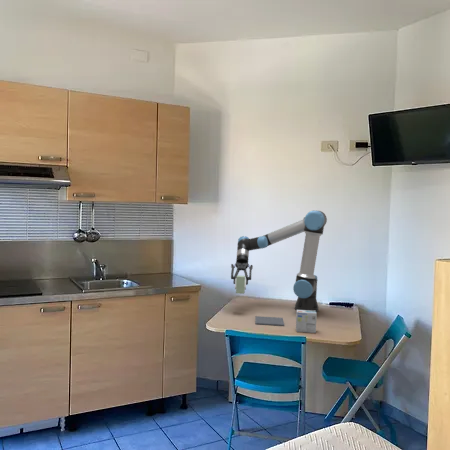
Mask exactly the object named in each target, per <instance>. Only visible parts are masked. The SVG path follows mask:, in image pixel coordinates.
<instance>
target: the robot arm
mask: <svg viewBox="0 0 450 450" xmlns="http://www.w3.org/2000/svg"><path fill="white" fill-rule="evenodd" d="M327 221H328V219H327V216H326V214H325V213H324V212H323V211H321V210H311V211H309V212H307V214H306V215H305V216H304V217H303V218H302V219H300V220H298V221H296V222H293V223H292V224H289V225H286V226H283V227H282V228H279V229H276V230H274V231H271V232H269V233H267V234H264V235H261V236H257V237H252V238H249V237H248V236H244V235H243V236H240V237H239V238H238V240H237V250H236V251H237V252H236V259H235V260H236V261H235V263H231V264H230V265H231V266H230V268H231V271H230V279H231V280H233V285H234V290H236V280H237V276H239V272H240V271H243V273H244V276H245V287H244V290H245V291H246V290H247V286H248V285H249V281H251V280H252V271H253V267H254V266H253V264H249V258H250V257H249V256H250V255H249V254H250V251H255V250H261V249H265V248H268V246H269V247H270V246H271V245H273V244H276V243H279V242H281V241H284V240H287V239H290V238H292V237H294V236H297V235H299V234H301V233H304V234H305V236H304V244H303V248H302V249H303V251H302V256H301V262H300V267H299V272H298V273H296V276H295V277H296V278H295V281H294V284H293V288H292V289H293V293H294V294H295V296H296V297H297V300H295V301H296V302H295V304H294V309H295V310H296V311H297V310H311V311H316V313H317V312H319V304H318V299H317V290H318V288H317V287H318V276H317V275H315V267H316V262H317V255H318V251H319V250H318V249H319V243H320V237H321V236H322V235H324V229H325V226H326V224H327V223H328V222H327ZM235 268H236V271H235ZM247 269H248V270H249V273H248V270H247ZM234 271H235V273H234Z"/></svg>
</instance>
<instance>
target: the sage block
mask: <svg viewBox="0 0 450 450" xmlns="http://www.w3.org/2000/svg"><path fill="white" fill-rule="evenodd" d="M245 278H246V277H245V275H237V280H236V289H235V293H236V294H238V295H239V294H240V295H241V294H243V295H245V292H246V290H244V287H245Z"/></svg>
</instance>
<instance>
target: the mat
mask: <svg viewBox="0 0 450 450" xmlns="http://www.w3.org/2000/svg"><path fill="white" fill-rule="evenodd" d="M254 322H255V325H256V326H257V325H259V326H274V327H275V326H276V327H285V321H284V317H275V316H262V315H261V316H260V315H258V316H257V315H256V316H255V321H254Z"/></svg>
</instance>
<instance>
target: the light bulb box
mask: <svg viewBox="0 0 450 450" xmlns="http://www.w3.org/2000/svg"><path fill="white" fill-rule="evenodd" d="M317 315H318V314H317V312H316V311H311V310H296V315H295V332H296V331H297V333H299V332H300V333H311V334H312V333H313V334H316V333H317Z"/></svg>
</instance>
